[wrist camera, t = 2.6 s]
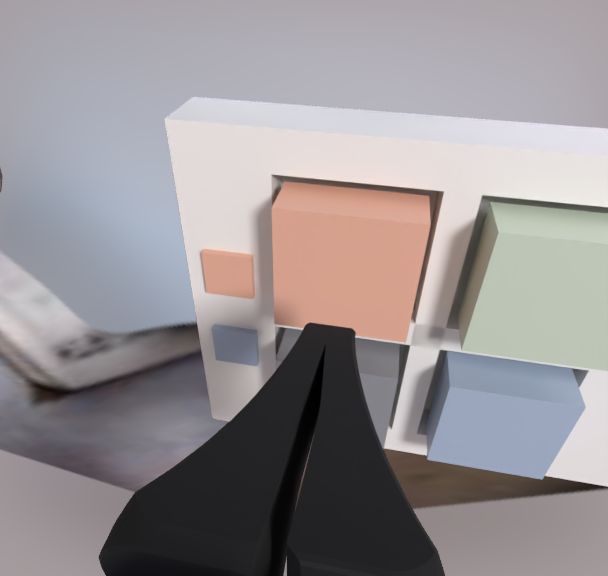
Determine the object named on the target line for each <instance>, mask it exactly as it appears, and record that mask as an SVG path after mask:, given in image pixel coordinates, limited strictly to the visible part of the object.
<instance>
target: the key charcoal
mask: <svg viewBox="0 0 608 576" xmlns="http://www.w3.org/2000/svg"><path fill="white" fill-rule="evenodd" d="M302 331H303V330H296V329H289V328H286V329H285V332H284V335H283V339H282V342H281V345H280V348H279V351H278V354H277V357H276V360H275V361H276V370H277V368H278V367H279V366H280V364H281V363H282V362H283V360H284V359H285V358H286V356H287V355H288V353H289V352H290V350H291V349H292V347H293V346H294V344H295V343H296V341H297V340H298V338H299V336H300V334H301V333H302ZM399 347H400V344H395V343H388V342H381V341H374V340H367V339H360V338H355V348H356V357H357V364H358V369H359V374H360V379H361V383H362V387H363V391H364V395H365V399H366V402H367V406H368V409H369V412H370V415H371V418H372V421H373V424H374V427H375V430H376V432H377V435H378V438H379V440H380V443H381V445H382V448H383V450H384V445H385V440H386V435H387V431H388V426H389V421H390V416H391V411H392V407H393V402H394V397H395V392H396V388H397V383H398V375H399ZM314 433H315V432H314ZM313 437H314V436H313ZM312 440H313V439H312Z"/></svg>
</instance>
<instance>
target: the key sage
mask: <svg viewBox="0 0 608 576" xmlns="http://www.w3.org/2000/svg"><path fill="white" fill-rule="evenodd" d="M458 324H459V333H460V342H461V351H468V352H475V353H482V354H489V355H497V356H504V357H511V358H518V359H525V360H532V361H539V362H546V363H553V364H560V365H567V366H574V367H581V368H589V369H596V370H603V371H608V214H607V213H597V212H587V211H577V210H567V209H557V208H547V207H537V206H527V205H516V204H506V203H496V202H490V205H489V208H488V212H487V215H486V219H485V222H484V226H483V229H482V232H481V236H480V239H479V243H478V246H477V250H476V253H475V257H474V260H473V264H472V267H471V270H470V274H469V277H468V281H467V284H466V288H465V291H464V295H463V298H462V302H461V305H460V309H459V312H458Z"/></svg>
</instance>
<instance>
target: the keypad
mask: <svg viewBox="0 0 608 576" xmlns="http://www.w3.org/2000/svg"><path fill="white" fill-rule="evenodd" d="M165 126H166V132H167V138H168V145H169V150H170V156H171V163H172V170H173V176H174V182H175V188H176V195H177V201H178V207H179V213H180V220H181V226H182V232H183V238H184V244H185V251H186V257H187V263H188V270H189V276H190V282H191V288H192V294H193V301H194V306H195V313H196V319H197V326H198V332H199V338H200V344H201V351H202V357H203V363H204V369H205V376H206V382H207V388H208V394H209V401H210V407H211V413H212V419H218V420H223V421H229V422H230V421H231V420H232V419H233V418H234V417H235V416H236V415H237V414H238V413H239V412H240V411H241V410H242V409H243V408H244V407H245V406H246V405H247V404H248V403H249V401H250V400H251V399H252V398H253V397H254V396H255V395H256V394H257V393H258V391H259V390H260V389H261V388H262V387H263V386H264V384H265V383H266V382H267V381H268V380H269V379H270V377H271V376H272V375H273V374H274V372H275V371H276V361H275V360H276V357H277V354H278V351H279V348H280V345H281V342H282V339H283V335H284V332H285V329H286V328H289V329H296V330H303V329H304V328H298V327H291V326H284V325H277V324H275V322H274V282H273V243H272V206H273V204H274V202H275V200H276V198H277V196H278V194H279V192H280V190H281V188H282V187H283V185H284V183H285V182H295V183H305V184H315V185H325V186H335V187H345V188H355V189H365V190H376V191H386V192H396V193H406V194H416V195H426V196H429V201H430V220H431V226H430V231H429V236H428V240H427V245H426V250H425V255H424V259H423V264H422V269H421V274H420V278H419V283H418V288H417V293H416V297H415V302H414V307H413V312H412V316H411V321H410V326H409V331H408V335H407V340H406V343H405V342H397V341H390V340H383V339H376V338H369V337H362V336H355V338H360V339H367V340H374V341H381V342H388V343H395V344H400V347H399V375H398V383H397V388H396V392H395V397H394V402H393V407H392V411H391V416H390V421H389V426H388V431H387V435H386V440H385V445H384V448H386V449H392V450H398V451H404V452H410V453H415V454H421V455H427V434H426V423H427V419H428V416H429V412H430V409H431V405H432V402H433V398H434V395H435V392H436V388H437V385H438V381H439V378H440V374H441V371H442V367H443V364H444V360H445V357H446V354H447V351H451V352H458V353H465V354H472V355H479V356H486V357H493V358H501V359H508V360H515V361H522V362H529V363H536V364H543V365H550V366H557V367H564V368H571V369H572V370H573V373H574V375H575V378H576V381H577V384H578V387H579V390H580V392H581V395H582V398H583V401H584V404H585V406H586V408H585V410H584V411H583V413H582V415H581V416H580V418H579V420H578V421H577V423H576V425H575V426H574V428H573V430H572V431H571V433H570V435H569V436H568V438H567V440H566V441H565V443H564V445H563V446H562V448H561V449H560V451H559V453H558V454H557V456H556V458H555V459H554V461H553V463H552V464H551V466H550V468H549V469H548V471H547V473H546V474H545V476H549V477H555V478H561V479H567V480H572V481H578V482H584V483H590V484H596V485H602V486H607V487H608V371H603V370H596V369H589V368H581V367H574V366H567V365H560V364H553V363H546V362H539V361H532V360H525V359H518V358H511V357H504V356H497V355H489V354H482V353H475V352H468V351H461V342H460V333H459V324H458V312H459V309H460V305H461V302H462V298H463V295H464V291H465V288H466V284H467V281H468V277H469V274H470V270H471V267H472V264H473V260H474V257H475V253H476V250H477V246H478V243H479V239H480V236H481V232H482V229H483V226H484V222H485V219H486V215H487V212H488V208H489V205H490V202H496V203H506V204H516V205H527V206H537V207H547V208H557V209H567V210H577V211H587V212H597V213H607V214H608V129H605V128H592V127H578V126H566V125H552V124H540V123H527V122H514V121H501V120H488V119H475V118H461V117H448V116H436V115H435V116H434V115H423V114H410V113H397V112H384V111H371V110H358V109H345V108H332V107H318V106H306V105H305V106H304V105H292V104H280V103H266V102H253V101H241V100H240V101H239V100H227V99H214V98H202V97H192V98H191V99H190V100H188V101H187V102H186V103H184V104H183V105H182V106H181V107H179V108H178V109H177V110H175V111H174V112H173V113H171V114H170V115H169V116H168V117H166V118H165Z"/></svg>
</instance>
